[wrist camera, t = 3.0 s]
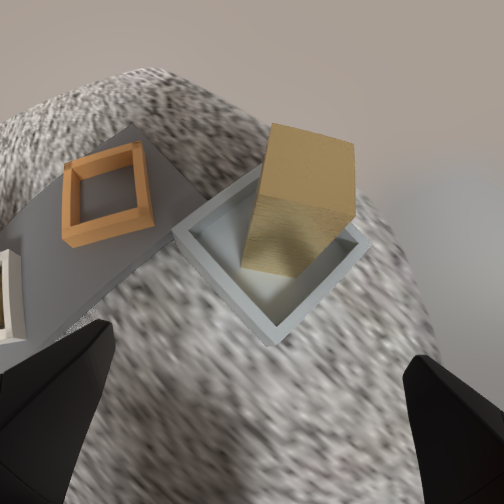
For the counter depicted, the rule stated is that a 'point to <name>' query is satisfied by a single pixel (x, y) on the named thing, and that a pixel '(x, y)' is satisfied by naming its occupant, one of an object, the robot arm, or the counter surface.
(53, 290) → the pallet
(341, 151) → the block
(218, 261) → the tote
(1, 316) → the block
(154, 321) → the counter surface
